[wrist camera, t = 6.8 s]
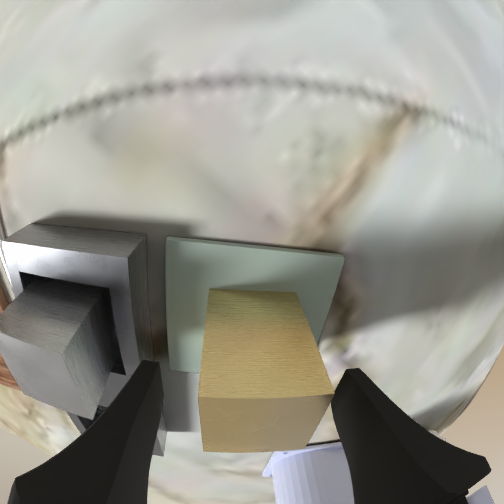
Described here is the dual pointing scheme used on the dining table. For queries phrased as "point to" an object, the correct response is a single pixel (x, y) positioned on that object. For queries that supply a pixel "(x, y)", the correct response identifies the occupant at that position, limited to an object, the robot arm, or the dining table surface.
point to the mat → (238, 286)
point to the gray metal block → (60, 343)
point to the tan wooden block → (259, 373)
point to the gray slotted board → (98, 274)
